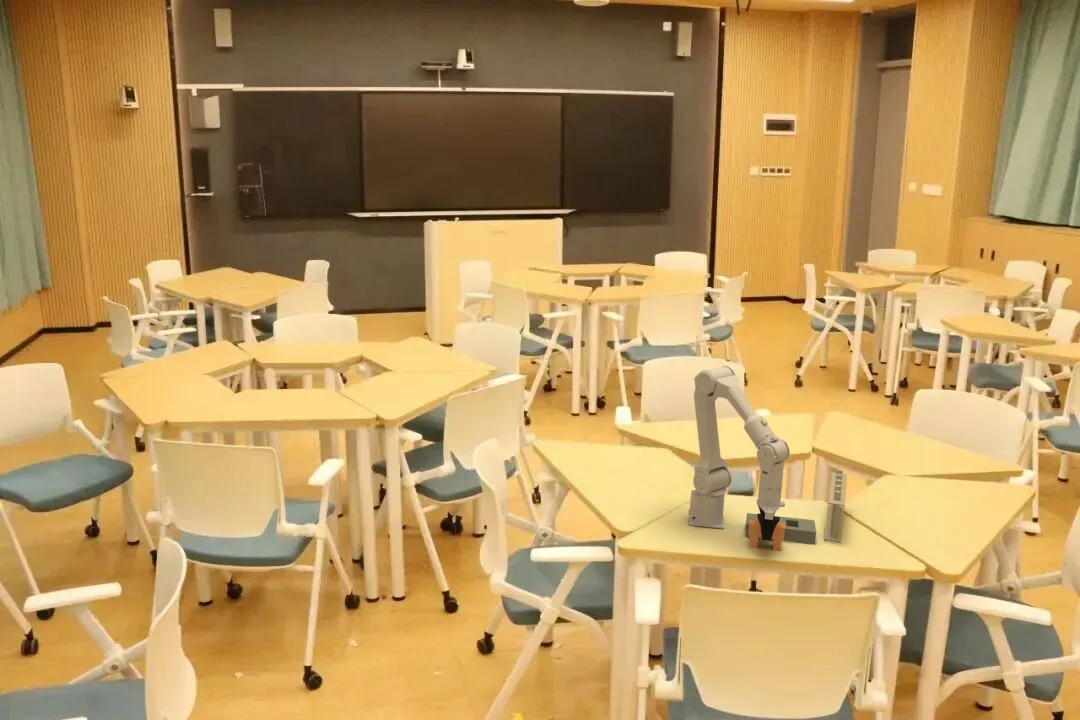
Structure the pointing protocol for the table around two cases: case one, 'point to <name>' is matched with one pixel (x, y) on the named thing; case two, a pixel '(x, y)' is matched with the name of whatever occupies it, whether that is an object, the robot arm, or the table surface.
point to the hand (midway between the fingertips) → (766, 534)
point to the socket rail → (792, 529)
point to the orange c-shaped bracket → (756, 533)
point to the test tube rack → (835, 507)
